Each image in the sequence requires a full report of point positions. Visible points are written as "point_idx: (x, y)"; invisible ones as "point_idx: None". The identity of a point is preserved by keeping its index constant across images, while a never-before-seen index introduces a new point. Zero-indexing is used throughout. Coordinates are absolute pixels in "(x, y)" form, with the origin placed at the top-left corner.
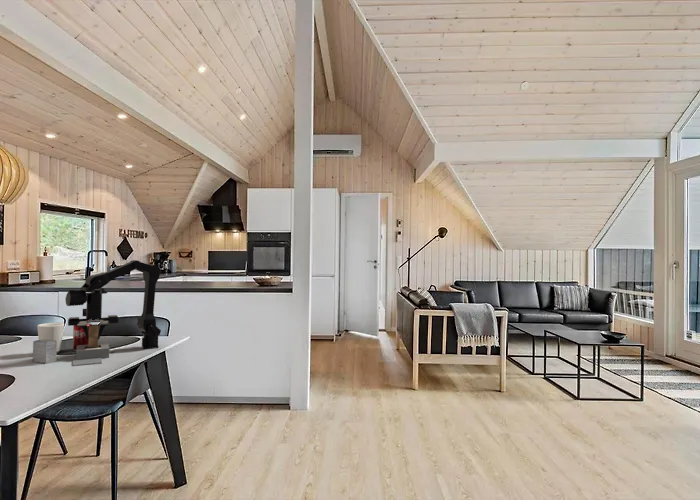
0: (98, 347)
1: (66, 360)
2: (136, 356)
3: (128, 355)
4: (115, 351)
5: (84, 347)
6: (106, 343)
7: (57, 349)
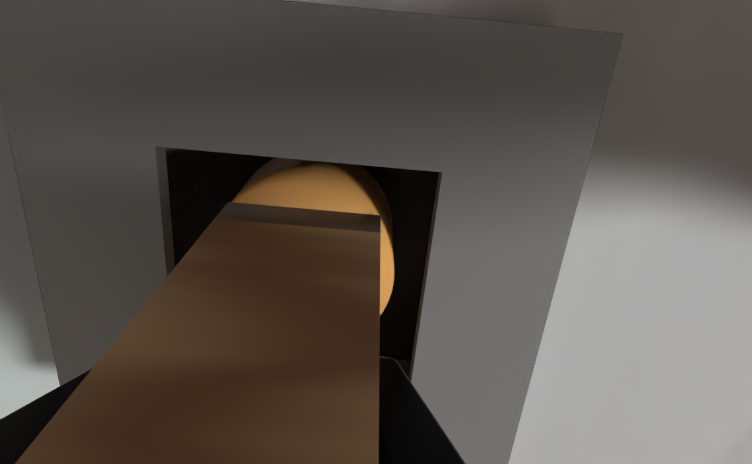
0: (388, 260)
1: (27, 296)
2: (734, 461)
3: (691, 384)
4: (664, 53)
5: (160, 263)
6: (580, 66)
7: None
